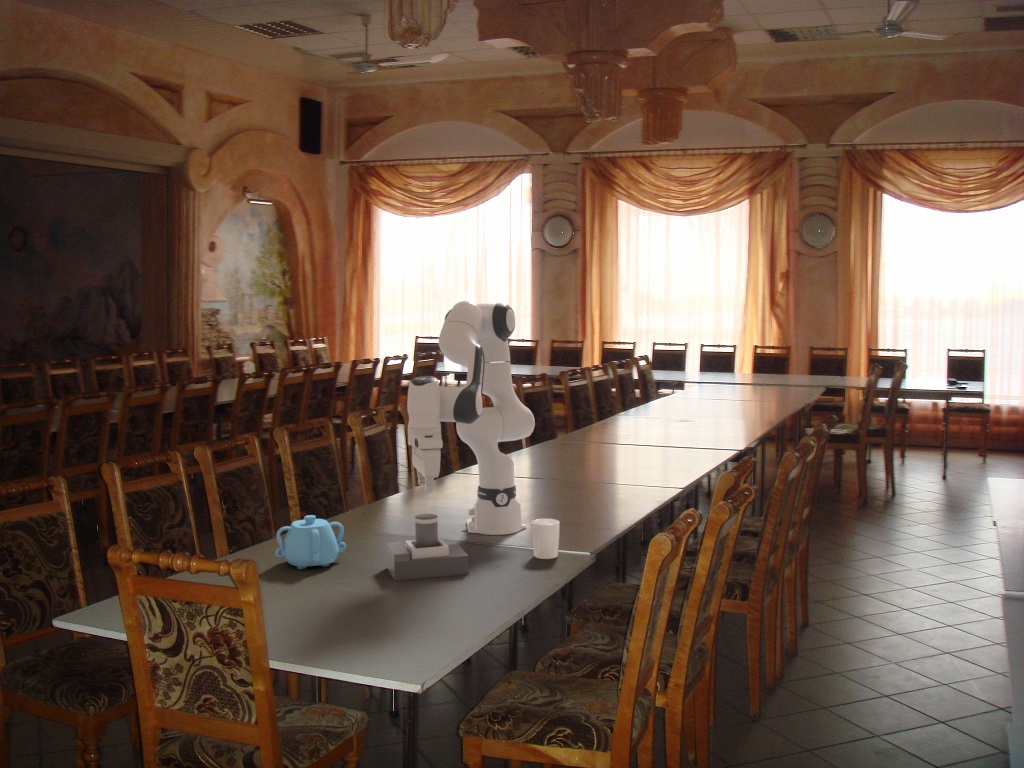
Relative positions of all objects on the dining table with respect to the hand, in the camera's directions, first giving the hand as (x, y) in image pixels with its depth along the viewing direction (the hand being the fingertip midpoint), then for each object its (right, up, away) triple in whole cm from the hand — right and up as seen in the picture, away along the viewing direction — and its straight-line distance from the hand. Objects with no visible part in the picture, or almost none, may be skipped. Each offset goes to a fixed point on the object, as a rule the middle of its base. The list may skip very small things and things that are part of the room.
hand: (425, 488), depth 273 cm
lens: (0, -18, +2) cm, 18 cm away
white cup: (+33, -21, +16) cm, 42 cm away
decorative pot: (-33, -22, +11) cm, 41 cm away
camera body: (0, -23, +2) cm, 23 cm away
